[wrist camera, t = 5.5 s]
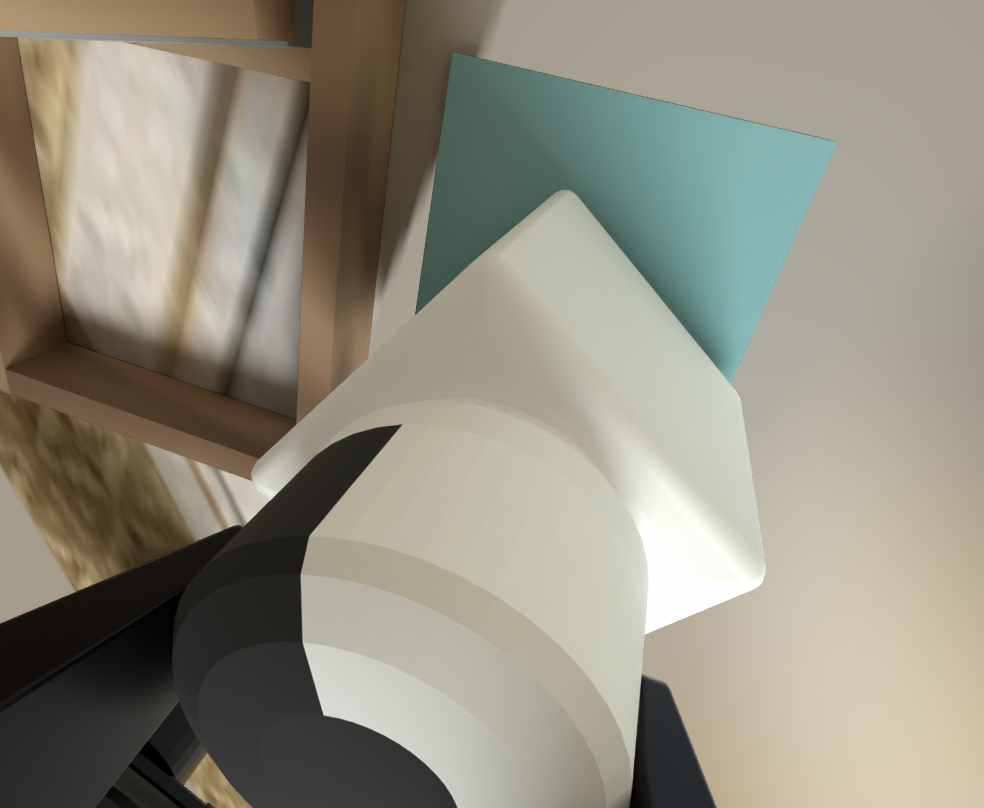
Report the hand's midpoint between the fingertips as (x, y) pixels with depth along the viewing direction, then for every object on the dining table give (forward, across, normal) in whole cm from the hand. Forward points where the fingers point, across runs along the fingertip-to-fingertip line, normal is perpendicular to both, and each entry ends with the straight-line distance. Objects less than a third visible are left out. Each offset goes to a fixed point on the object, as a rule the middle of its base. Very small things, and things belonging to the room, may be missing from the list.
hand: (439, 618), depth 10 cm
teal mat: (+10, 0, 0) cm, 10 cm away
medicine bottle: (+10, 0, 0) cm, 10 cm away
